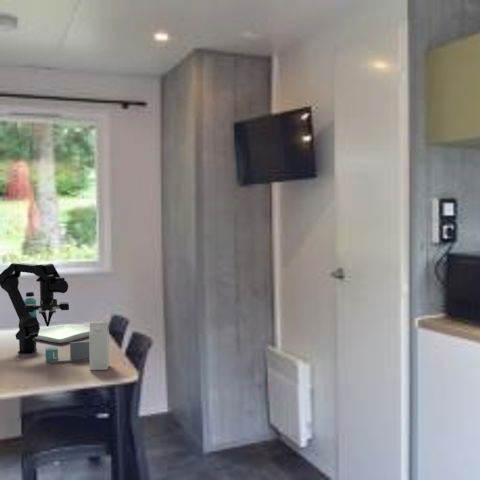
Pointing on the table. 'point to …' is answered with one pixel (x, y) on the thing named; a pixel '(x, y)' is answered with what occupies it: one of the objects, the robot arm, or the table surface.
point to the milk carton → (99, 346)
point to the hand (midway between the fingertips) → (47, 326)
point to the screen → (79, 349)
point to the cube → (51, 353)
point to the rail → (67, 360)
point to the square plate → (63, 333)
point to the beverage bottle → (31, 302)
